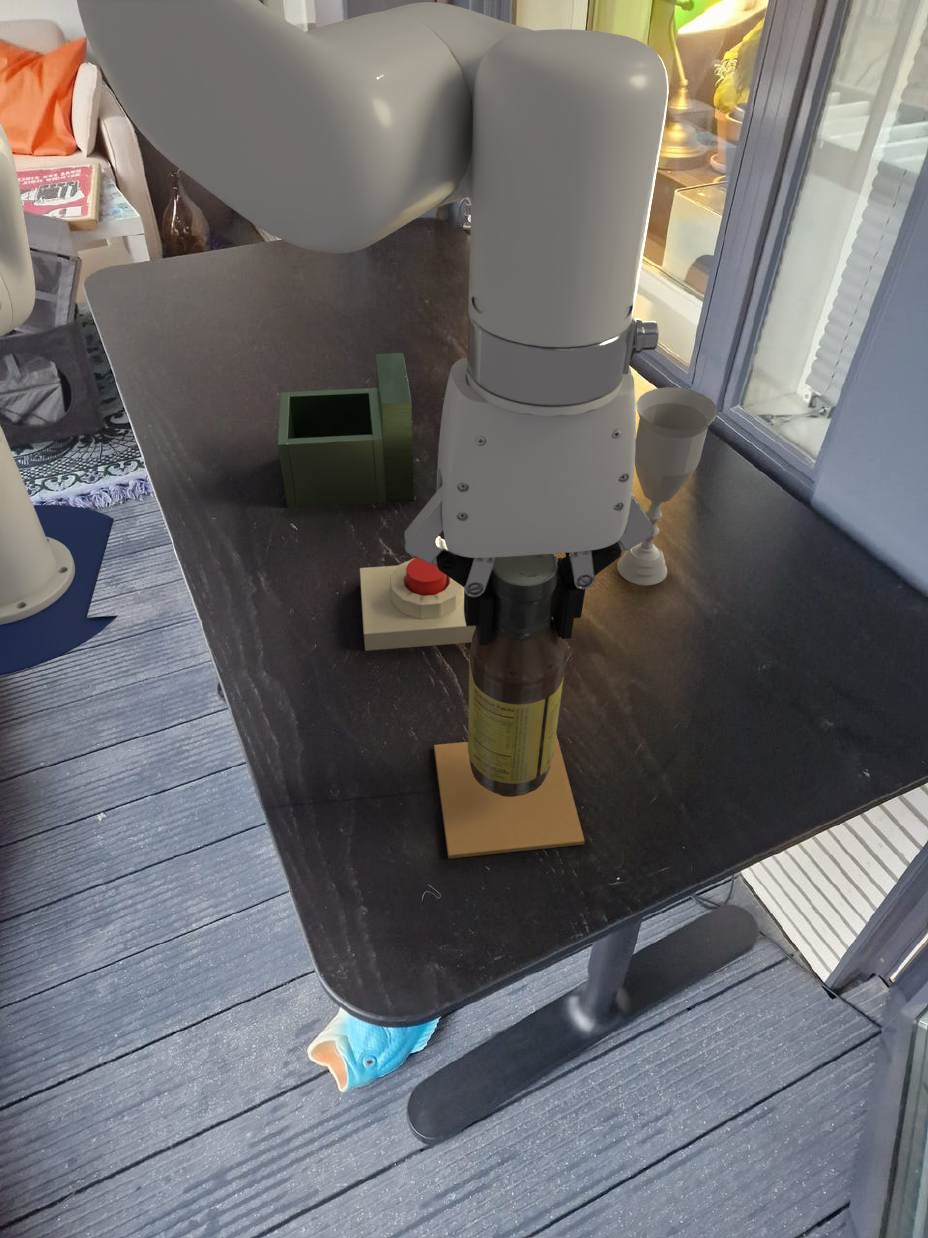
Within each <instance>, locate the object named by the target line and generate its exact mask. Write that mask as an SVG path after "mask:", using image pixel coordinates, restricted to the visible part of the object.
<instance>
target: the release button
mask: <svg viewBox="0 0 928 1238" xmlns="http://www.w3.org/2000/svg"><path fill="white" fill-rule="evenodd" d="M414 558H415V559H413V558H412V559H413V560H412V561H410V562H409V564H408V565H407V568H406V573H407V586H408V588H409V590H410V591H411V592H413V593H415V594H418V595H422V596H428V595H436V594H438V593H440V592H442V591H443V590H444V589H445V587H446V574H444V573H443V572H441V571H440V570H439V569H438V567H437V566H436V565H434V564H432V563H431V564H429V563H427V562H425V561H423V560H421V559H418V558H416V557H414Z"/></svg>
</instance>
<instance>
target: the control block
mask: <svg viewBox="0 0 928 1238" xmlns="http://www.w3.org/2000/svg"><path fill="white" fill-rule="evenodd" d="M415 558H416V557H414V558H411V559H409V560H407V561H405V562H403V563H400V564H398V565H385V566H384V565H383V566H371V567H360V568H359V580H360V582H359V583H360V597H361V613H362V629H363V630H362V632H363V643H364V651H380V650H392V649H405V648H406V649H407V648H416V647H417V648H419V647H431V646H443V645H445V646H446V645H457V644H468V643H469V644H470V643H472V637H473V634H474V631H475V629H476V626H466V622H465V617H464V587H463V586H461V585H460V584H458V583H457V582H456V581H454V580H453V579H451V578H450V577H448V576H447V575H446V587H445V589H444V590H443V591H442V592H440V593H438V594H436V595H428V596H422V595H418V594H415V593H413V592H411V591H410V590H409V588H408V586H407V573H406V568H407V565H408V564H409V562H410V561H412V560H413V559H415Z"/></svg>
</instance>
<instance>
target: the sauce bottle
mask: <svg viewBox="0 0 928 1238" xmlns="http://www.w3.org/2000/svg"><path fill="white" fill-rule="evenodd" d="M557 562H558V558H557V557H556V555H555V554H541V555H526V556H510V557H496V560H495V563H494V566H493V569H492V572H491V575H490V577H489V582H490V585H491V588H492V593H493V598H494V606H493V622H492V638H491V642H490V643H488V645H479V641H478V636H477V631H476V629H475V631H474V634H473V637H472V642H471V644H470V648H469V654H468V655H469V657H468V702H467V703H468V705H467V706H468V707H467V742H468V753H469V761H470V766H471V770H472V773H473V775H474V778H475V779H476V781H477V782H478V783H479V784H480V785H481V786H483V787H484V788H486V789H488V790H490V791H492V792H494V793H496V794H499V795H500V796H505V797H515V796H520V795H525V794H527V793H529V792H532V791H534V790H536V789H537V788H539V787H540V786H541V785H542V783H543V781H544V780H545V779H546V777H547V774H548V772H549V769H550V765H551V762H552V759H553V754H554V746H555V739H556V735H557V732H558V731H557V730H558V723H559V714H560V707H561V701H562V692H563V685H564V677H565V668H564V665H565V660H566V643H565V639H562V638H561V637H558V634H557V630H556V627H555V624H554V620H553V617H552V615H553V614H552V597H553V591H554V589H555V587H556V585H557V579H558V563H557Z"/></svg>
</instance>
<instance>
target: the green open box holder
mask: <svg viewBox="0 0 928 1238" xmlns="http://www.w3.org/2000/svg"><path fill="white" fill-rule="evenodd" d="M374 355H375V370H376V372H375V373H376V387H369V388H368V387H367V388H349V389H348V388H346V389H345V388H344V389H325V390H324V389H323V390H303V391H301V390H299V391H281V392H280V395H279V415H278V434H277V448H278V455H279V462H280V467H281V468H280V469H281V475H282V482H283V488H284V494H285V501H286V507H287V509H299V508H300V509H301V508H316V507H317V508H318V507H331V506H332V507H333V506H349V505H351V506H353V505H367V504H384V503H402V502H403V503H404V502H414V501H415V489H414V487H415V486H414V450H413V449H414V448H413V446H414V445H413V411H412V410H413V409H412V398H411V391H410V385H409V379H408V374H407V373H408V372H407V368H406V362H405V355H404V352H393V353H392V352H391V353H390V352H389V353H376V354H374Z"/></svg>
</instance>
